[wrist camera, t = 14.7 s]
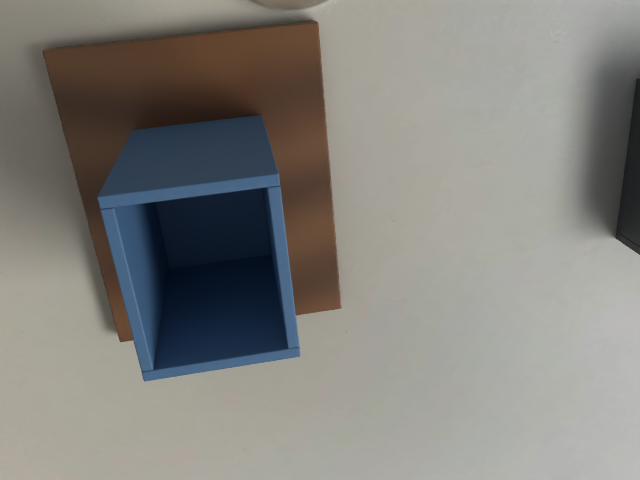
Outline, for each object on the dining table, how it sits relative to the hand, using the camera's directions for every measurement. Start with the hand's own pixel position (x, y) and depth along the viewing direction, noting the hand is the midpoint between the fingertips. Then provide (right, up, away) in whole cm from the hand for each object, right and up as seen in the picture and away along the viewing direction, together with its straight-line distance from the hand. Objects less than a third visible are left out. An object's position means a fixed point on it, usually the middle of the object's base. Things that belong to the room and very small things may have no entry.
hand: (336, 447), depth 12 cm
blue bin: (-7, +7, +28) cm, 30 cm away
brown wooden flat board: (-8, +7, +29) cm, 31 cm away
